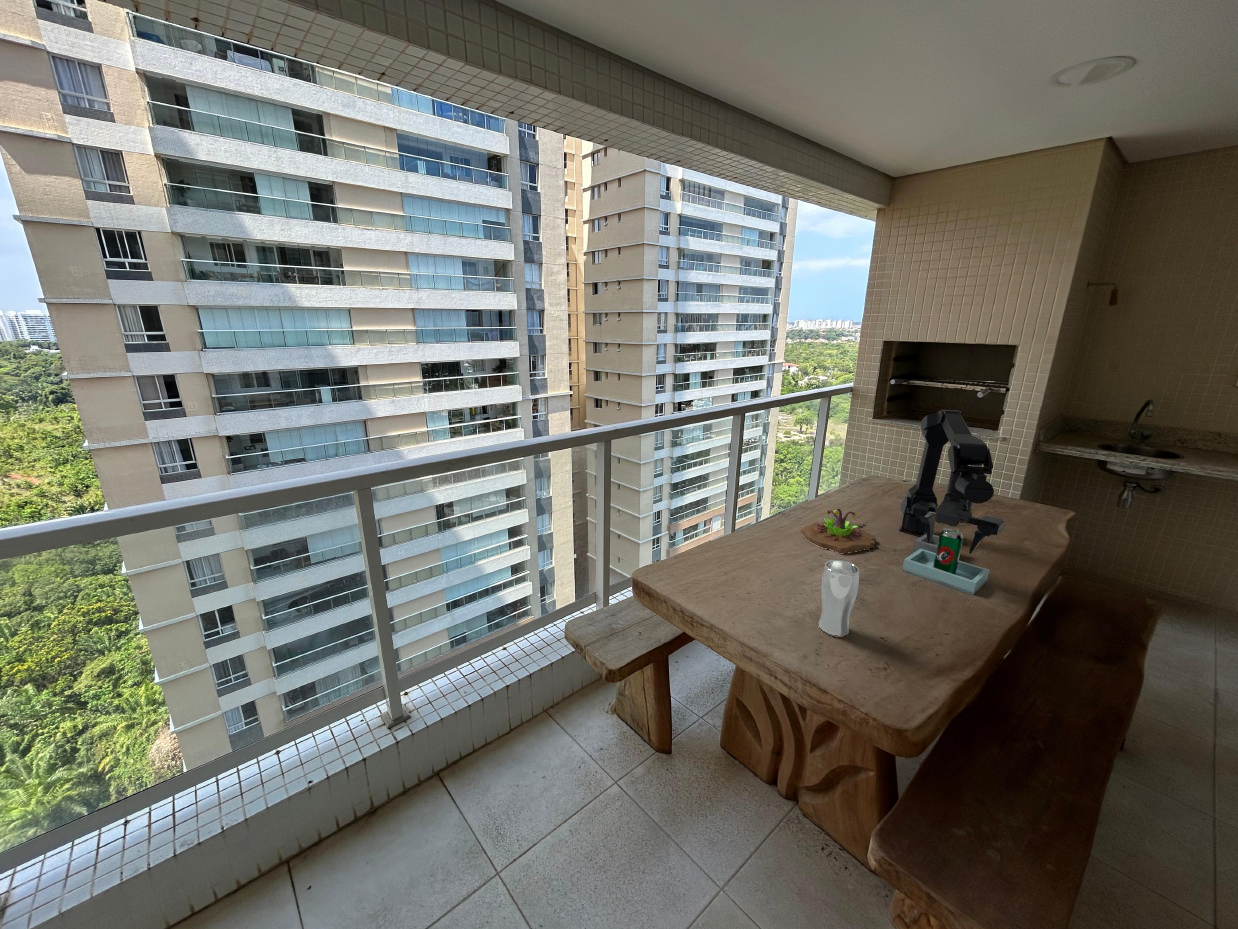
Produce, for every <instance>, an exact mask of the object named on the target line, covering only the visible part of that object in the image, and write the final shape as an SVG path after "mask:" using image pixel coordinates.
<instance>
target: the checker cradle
mask: <svg viewBox="0 0 1238 929" xmlns="http://www.w3.org/2000/svg"><path fill="white" fill-rule="evenodd" d="M938 540H939V535H937V534H936V535H935V534H933V537H932V540H931V541H930V543H933V544H937V545H938ZM914 541H915V542H914V547H913V552H912V554H913V553H914V552H916V551H917V550H919V549H924V550H927V551H930V552H933V553H936V550H937V546H936V545H933V544H929V542H928V539H927V535H926V533H925V534H924V535H922V536H919V537H918V538H917V539H916V540H914Z"/></svg>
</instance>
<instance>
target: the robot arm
mask: <svg viewBox="0 0 1238 929" xmlns="http://www.w3.org/2000/svg"><path fill="white" fill-rule="evenodd" d="M963 415H964V413H963V411H961V410H957V409H955V410H954V409H942V410H939V411H937V412H934V413H929V414H927V415H925V417H923V418H922V419H921V423H920V429H921V434H922V437H923V438H924V441H925V442H924V443H925V444H924V447H923V450H922V451H923V452H922V455H921V459H920V460H921V461H920V464H919V469H918V474H917V477H916V478H917V479H916V483H915V484H914V485H913V486H912V487H910V488H909V489H908V491H907V493H906V496H904V498H903V500H902V501H901V503H900V505H899V506H900V507H899V509H900V510H899V511H900V512H901V514H902V516H903V517H902V522H901V527H899V528H898V531H900V532H903V533H907V534H909V535H913V536H915V537H916V536H917V537H922V536H923V535H925V534H926V535H927V539H928V542H930V541H931V540H932V537H933V535H934V530H935V524H936V523H937V524H944V525H947V526H950V527H958V526H959V524H963V523H964V524H968V525H969V524H970V525H973V526H976V527H977V529H976V530H974V536H973V539H972V541H971V543H970V544H971V545H970V547H969V552H968V553H969V554H970V555H972V554H973V552H974V551H975V550H976V548H977V547H978V546H979V545H980V543H981V542H982V540H983V539H985V537H988V538H990V537H991V536H998V535H999V534H1000V533H1002V532H1003V531H1004V527H1005V525H1006V524H1005V521H1004V520H1003V519H1002V518H998V517H993V516H990V515H984V516H983V517H981V518H979V517H976V516H973V512H972V511H973V509H972V508H973V504H983V503H987V502H988V501H991V499H992V498H993V496H994V494H995V490H994V486H993V485H992V484H991V482H989V481H988V480H987V478H988V476H987V475H992V473H993V471H992V470H993V469H994V463H993V459H992V453H991V450H990V448H989V447H988V445H987V444H986V443H985V442H984V441H983V439H981V438H979V437H976V436H974V435H973V434H972V432H971V431H970V429H969V427H968V425H967V423H966V422H965V420H964V418H963ZM948 443H949V444H950V445H949V447H948V449H947V450H948V451H947V458H948V461H949V467H950V473H949V476H948V477H949V478H948V485H947V487H946V493H945V494H944V496H943V500H942V501H941V503H940V504H939V503H938V498H937V496H936V493H935V492H934V486H935V482H936V477H937V475H938V474H937V473H938V470H939V465H940V461H941V458H942V453H943V449H944V446H946V445H947V444H948Z"/></svg>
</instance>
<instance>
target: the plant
mask: <svg viewBox="0 0 1238 929" xmlns="http://www.w3.org/2000/svg"><path fill="white" fill-rule="evenodd" d="M842 512H843V511H842V510H841V508H836V509H834V510H833V511H832V510H831V509H827V510H826V511H825V513H826V514H827V515H830V514H832V515H833V516H834V517H835V518H834V517H833V518H832V519H829V518H826V517H824V518H823V519H824V522H823V521H822V522H813V523H811V524H807V525H805V526H803V527H802V528H801V531H800V534H801V533H802V534H803V535H804V536H805V538H806V539H807V540H809V541H810V542H812V543H814V544H816V545H818V546H820V547H823V548H827V549H831V550H834V551H836V552H838V553H848V552H855V551H860V550H864V549H865V550H871V549H870V548H873V549H874V548H875V545H876V542H877V537H875V535H873V534H872V533H870V532H866V531H865V530H862V529H860V528H858V525H849V524H850V520H847V517H848V515H850V514H851V516H852V518H857V514H856V512H854V511H848V512H846V513H845V514H844V516H843V513H842ZM805 538H804V539H805ZM860 552H861V551H860Z"/></svg>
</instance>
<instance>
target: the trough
mask: <svg viewBox="0 0 1238 929" xmlns="http://www.w3.org/2000/svg"><path fill="white" fill-rule="evenodd" d="M935 555H936V553H933V552H930V551H927V550H924V549H919V550H917V551H916V552H914V553H913V552H912V553H911V554H910V555H909V556H907V557H905V558H904V560H903V565H902V571H903V570H904V571H903V572H907V573H908V572H909V574H911V573H912V575H914V576H917V577H920V578H923V579H925V578H926V580H929V581H932V582H935V583H937V584H940V585H942V584H943V585H942V586H945V585H946V586H945V587H949V588H951V589H954V590H956V591H960V592H962V593H965V594H968V595H971V596H974V595H975V594H976V593H977V592H978V591H979V590H980V589H981V588H982V587H983V586H984V585H985V584H986V582H987V581H988V577H989V573H990V569H988V568H984V567H981V566H978V565H974V564H972V563H969V562H965V561H962V560H959V562H958V566H957V571H956V574H955V575H954V574H951V573H948V572H945V571H942V570H939V569H936V568H933V565H934V560H935Z"/></svg>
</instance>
